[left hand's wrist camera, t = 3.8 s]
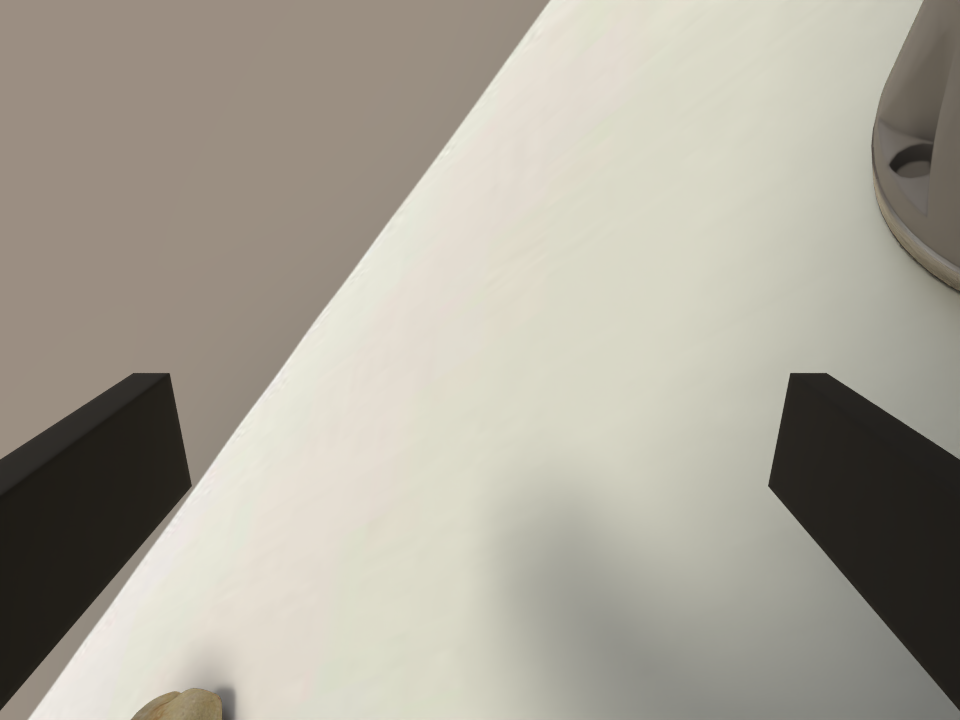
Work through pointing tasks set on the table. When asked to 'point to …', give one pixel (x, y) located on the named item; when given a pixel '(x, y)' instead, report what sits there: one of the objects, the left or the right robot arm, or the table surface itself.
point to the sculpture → (183, 706)
